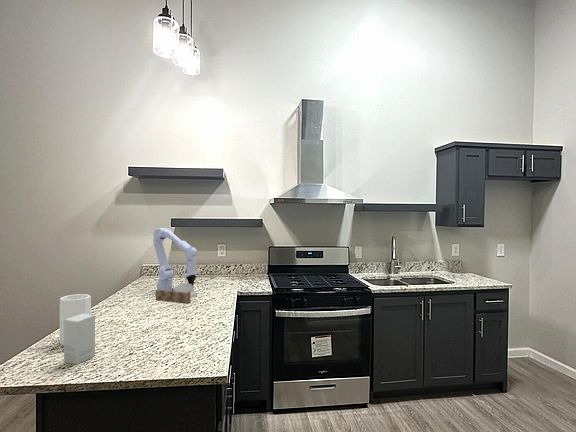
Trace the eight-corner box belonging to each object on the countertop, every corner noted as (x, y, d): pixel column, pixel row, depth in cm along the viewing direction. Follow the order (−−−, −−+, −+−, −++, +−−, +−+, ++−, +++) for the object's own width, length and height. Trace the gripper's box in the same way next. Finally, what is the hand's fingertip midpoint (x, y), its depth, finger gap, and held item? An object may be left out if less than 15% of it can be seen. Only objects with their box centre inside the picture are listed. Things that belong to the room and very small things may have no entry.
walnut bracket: (155, 299, 223) (155, 290, 223) (165, 296, 231) (165, 287, 231) (188, 303, 215) (188, 293, 215) (196, 300, 223) (197, 290, 223)
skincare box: (82, 354, 136) (82, 312, 136) (96, 356, 134) (96, 314, 134) (62, 362, 128) (62, 318, 128) (77, 365, 126) (77, 320, 126)
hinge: (176, 300, 220) (173, 284, 222) (171, 302, 223) (168, 286, 224) (197, 295, 234) (193, 280, 236) (192, 297, 237) (188, 282, 239)
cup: (57, 347, 142) (57, 301, 142) (62, 338, 152) (62, 295, 152) (89, 344, 147) (89, 298, 147) (91, 335, 157) (92, 293, 157)
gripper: (189, 268, 229) (189, 289, 229) (202, 265, 243) (202, 285, 243) (180, 267, 232) (180, 288, 232) (193, 264, 245) (193, 284, 245)
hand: (191, 286), depth 238 cm, fingers closed
